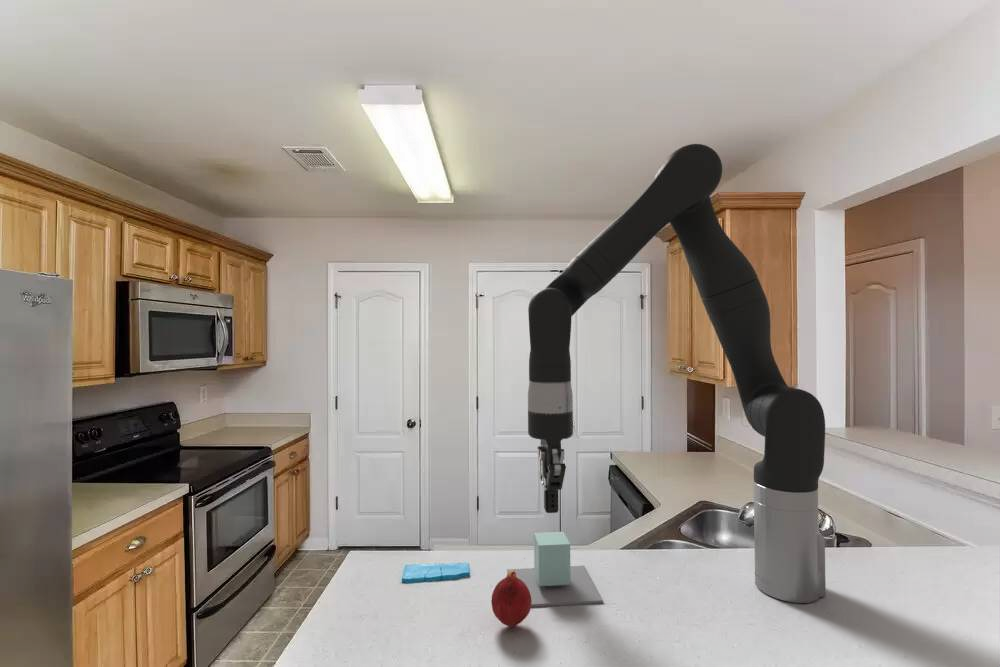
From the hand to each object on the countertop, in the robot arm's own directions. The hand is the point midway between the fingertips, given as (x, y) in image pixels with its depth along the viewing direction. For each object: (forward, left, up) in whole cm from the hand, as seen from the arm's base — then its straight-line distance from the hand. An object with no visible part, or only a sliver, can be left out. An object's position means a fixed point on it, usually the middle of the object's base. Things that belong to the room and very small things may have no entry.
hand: (551, 511), depth 85 cm
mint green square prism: (0, 0, -11) cm, 11 cm away
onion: (+8, +11, -13) cm, 19 cm away
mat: (0, 0, -13) cm, 13 cm away
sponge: (+20, -6, -13) cm, 24 cm away
